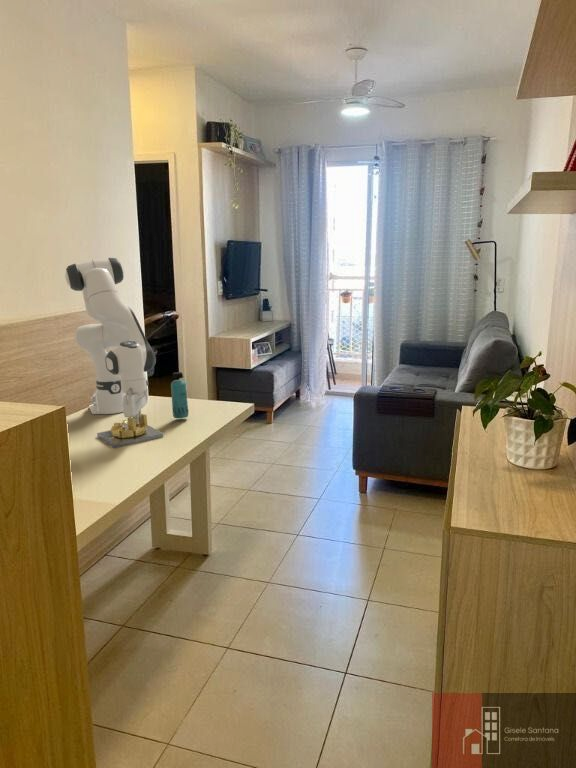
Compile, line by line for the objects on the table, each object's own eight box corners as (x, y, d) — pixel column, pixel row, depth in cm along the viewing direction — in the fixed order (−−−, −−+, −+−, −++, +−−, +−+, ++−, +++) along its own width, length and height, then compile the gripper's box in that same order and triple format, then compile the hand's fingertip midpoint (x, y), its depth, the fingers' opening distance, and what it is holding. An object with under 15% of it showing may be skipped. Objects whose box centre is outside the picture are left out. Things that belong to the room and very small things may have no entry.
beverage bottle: (170, 421, 232) (166, 373, 228) (178, 417, 238) (174, 370, 234) (184, 422, 230) (180, 374, 225) (192, 418, 236) (188, 371, 232)
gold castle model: (97, 436, 215) (95, 424, 214) (144, 426, 226) (143, 414, 225) (113, 448, 201) (112, 434, 200) (163, 437, 212) (162, 424, 211)
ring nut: (105, 434, 212) (103, 416, 210) (131, 425, 221) (130, 408, 220) (128, 439, 204) (126, 421, 203) (154, 430, 214) (152, 412, 213)
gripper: (134, 392, 196) (138, 430, 199) (149, 379, 216) (152, 414, 219) (116, 392, 196) (120, 431, 199) (132, 380, 216) (136, 415, 219)
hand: (137, 422), depth 209 cm, fingers closed
